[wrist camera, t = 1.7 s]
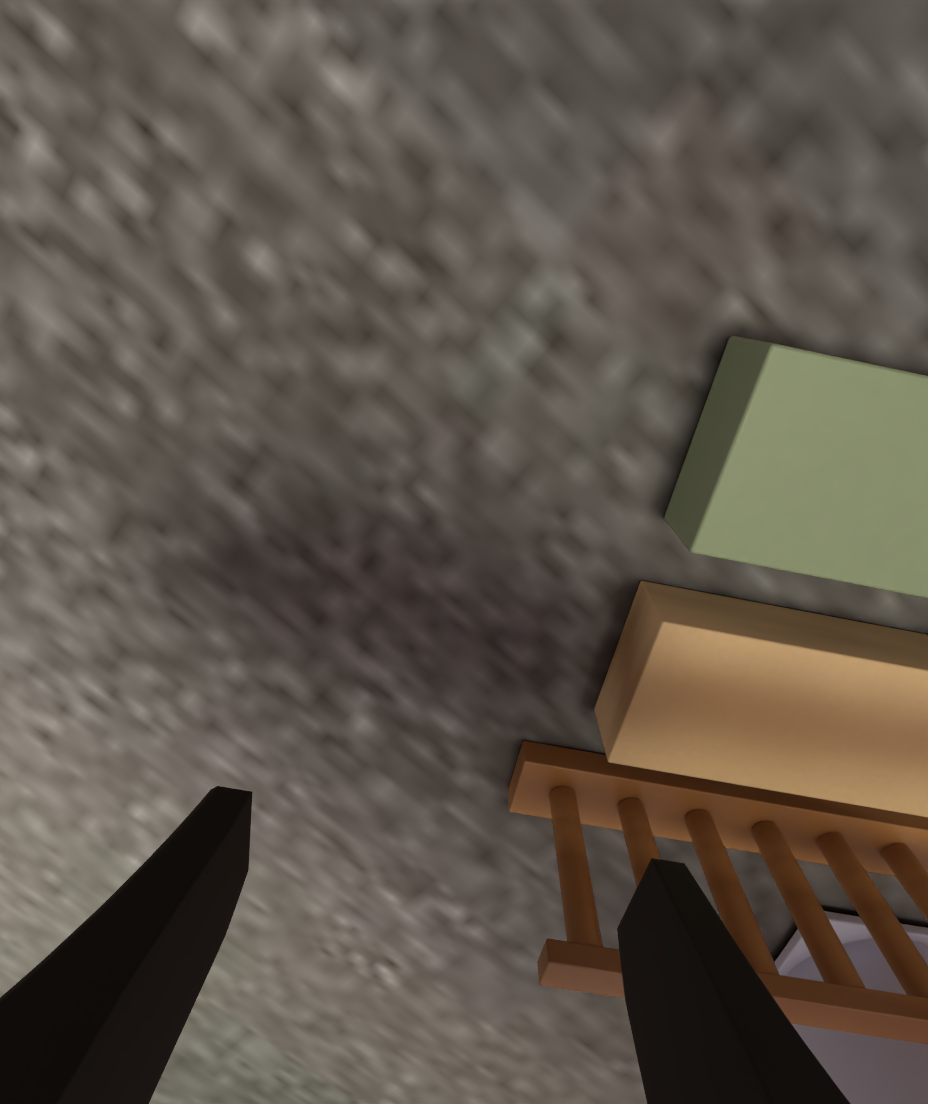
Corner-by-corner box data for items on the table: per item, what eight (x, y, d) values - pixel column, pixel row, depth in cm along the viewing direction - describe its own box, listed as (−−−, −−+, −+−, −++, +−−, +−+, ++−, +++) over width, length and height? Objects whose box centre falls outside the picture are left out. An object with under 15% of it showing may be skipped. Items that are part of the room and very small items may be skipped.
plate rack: (1020, 876, 22) (1232, 1107, 16) (507, 789, 21) (517, 999, 15) (1060, 833, 21) (1302, 1061, 15) (522, 739, 20) (539, 942, 14)
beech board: (984, 778, 20) (1045, 838, 18) (593, 709, 19) (607, 762, 17) (1075, 661, 18) (1157, 713, 16) (640, 579, 17) (662, 621, 15)
